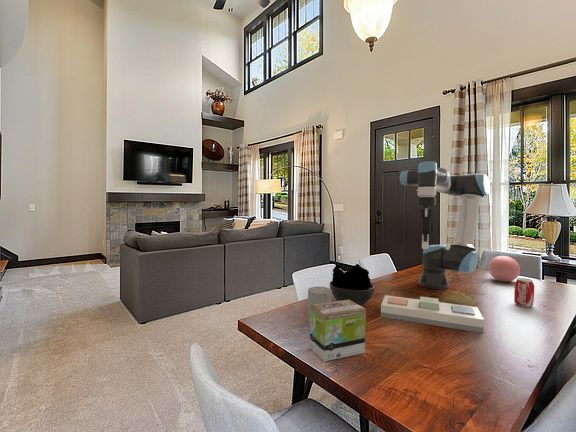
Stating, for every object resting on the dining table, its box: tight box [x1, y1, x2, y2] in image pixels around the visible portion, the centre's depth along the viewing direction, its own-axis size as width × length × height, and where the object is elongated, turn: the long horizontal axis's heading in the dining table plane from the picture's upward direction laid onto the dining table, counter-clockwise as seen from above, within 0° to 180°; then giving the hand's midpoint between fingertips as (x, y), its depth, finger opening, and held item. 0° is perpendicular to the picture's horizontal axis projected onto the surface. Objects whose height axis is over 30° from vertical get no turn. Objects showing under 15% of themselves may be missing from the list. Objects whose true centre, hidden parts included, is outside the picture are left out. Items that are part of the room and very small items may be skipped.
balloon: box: [487, 255, 521, 283], centre depth 181 cm, size 15×20×15 cm
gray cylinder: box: [307, 286, 332, 323], centre depth 120 cm, size 10×10×12 cm
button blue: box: [452, 305, 474, 315], centre depth 118 cm, size 7×7×3 cm
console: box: [380, 294, 485, 334], centre depth 123 cm, size 14×36×5 cm, turn 65°
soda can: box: [513, 277, 535, 308], centre depth 138 cm, size 7×7×12 cm
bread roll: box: [439, 289, 477, 307], centre depth 134 cm, size 10×15×8 cm, turn 42°
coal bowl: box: [329, 263, 376, 306], centre depth 137 cm, size 20×20×19 cm
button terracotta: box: [388, 297, 407, 306], centre depth 128 cm, size 7×7×3 cm
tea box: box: [309, 300, 367, 363], centre depth 96 cm, size 15×10×15 cm
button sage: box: [419, 296, 440, 310], centre depth 123 cm, size 7×7×3 cm
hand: (425, 248), depth 136 cm, fingers closed
